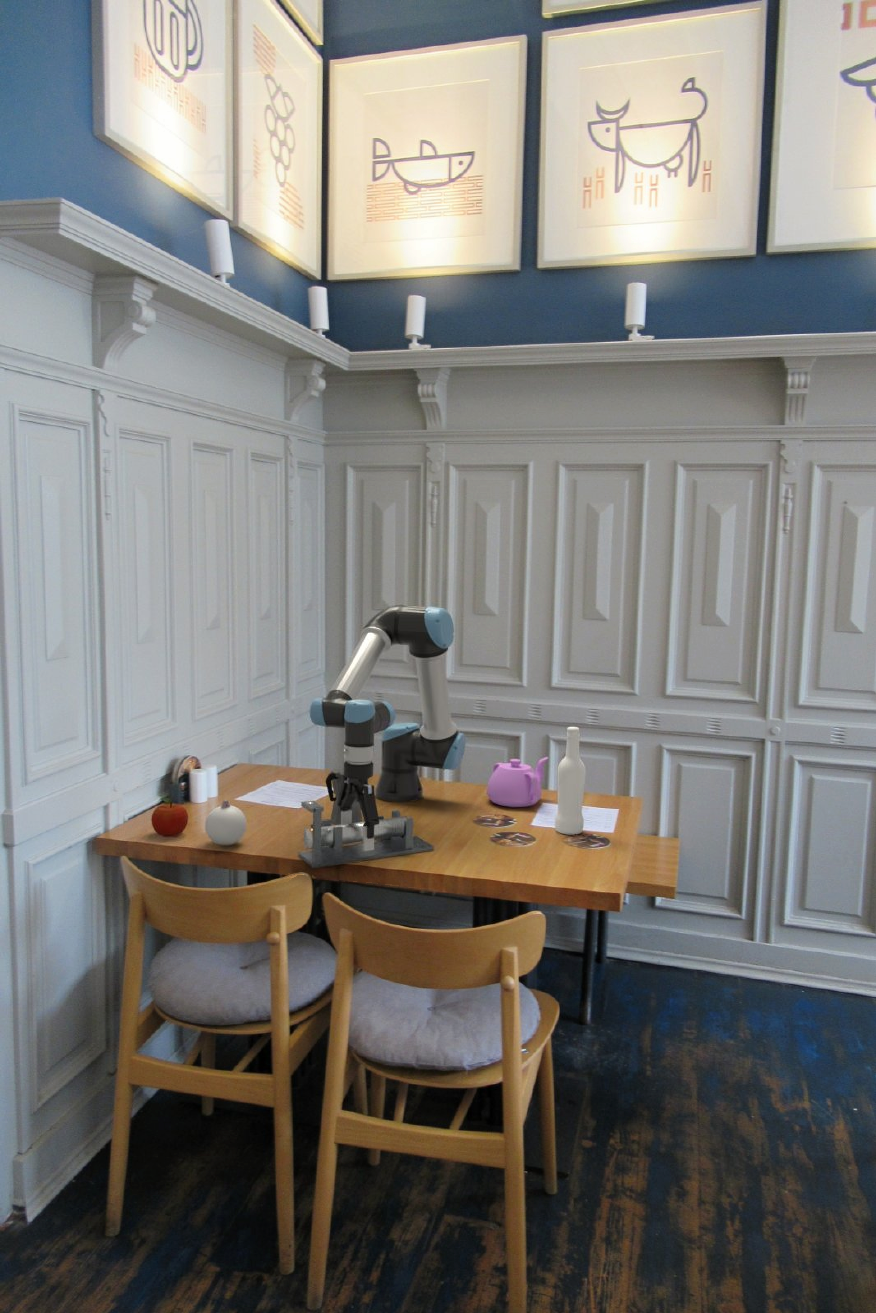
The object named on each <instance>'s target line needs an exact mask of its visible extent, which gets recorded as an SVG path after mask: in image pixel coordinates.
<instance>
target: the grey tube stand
mask: <svg viewBox="0 0 876 1313" xmlns="http://www.w3.org/2000/svg"><path fill="white" fill-rule="evenodd" d="M300 805H301V807H302V808H304V809H305V810H307V811H308V812H310V813H312V824H313V843H312V849H311V850H305V851H299V852H298V853H297V854H298V855H297V857H298V858H300V859H301V860H302V859H303V860H302V861H303V862H305V863H306V864H308V866H310V867H311V868H312V869H316V868H323V867H330V866H337V865H344V864H351V863H356V862H365V861H371V860H379V859H384V858H391V857H398V856H404V855H411V854H418V853H423V852H430V851H434V850H435V846H434V845H432V844H430V843H429V842H427V841H425V840H424V839H422V838H420V837H419V836H417V835H414V817H411V816H410V817H408V818H404V836H400V837H392V838H391V839H390V840H383V841H381V840H377V841H376V840H375V841H374V850H369V851H363V842H361V843H354V844H349V845H348V844H347V845H343V844H342V831H343V828H342V827H341V826H340V827H333V846H328V847H321V823H322V827H326V826H332V823H331V818H326V819H325V818H324V819H322V816H323V814H322V812H324V811H325V810H324V809H325V808H324V806H322V804H319V803H318V802H316V801H315V800H308V801H307V800H306V801H301V804H300ZM396 817H401V810H392V811H391V818H396Z"/></svg>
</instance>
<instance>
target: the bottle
mask: <svg viewBox="0 0 876 1313" xmlns="http://www.w3.org/2000/svg"><path fill="white" fill-rule="evenodd" d="M566 731H567V732H566V747H565V756H564V757H563V758H562V759H561V761H560V762H559V764H558V768H557V813H556V815H555V816H554V829H555V830H556V832H557V833H559V834H562V835H563V834H564V835H569V836H572V835H575V834H576V835H578V834H581V833H582V832H583V829H584V823H585V819H584V817H583V803H584V794H585V792H584V791H585V784H586V783H585V782H586V777H587V775H586V774H587V771H586V766H585V763H584V762H583V760H582V759H581V758H580V737H581V733H580V732H581V730H580V728H579V727H577V726H568V727H567V729H566Z"/></svg>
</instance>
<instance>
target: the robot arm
mask: <svg viewBox="0 0 876 1313" xmlns="http://www.w3.org/2000/svg"><path fill="white" fill-rule="evenodd" d="M454 626H455V625H454V621H453V618H452V616H451V614H450V612H449V610H446V608H442V607H437V606H433V605H430V606H423V605H422V606H419V605H418V606H417V605H404V604H396V605H392V606H388V607H386V608H385V609H382V610H381V611H379V612H378V613H376V614H375V615H374V616H373V617H371V618H370V619H369V620H368V622H366V624H365V625H364V627H363V628H362V630H361V631H360V633H359V638H360V639H359V641H358V644H357V645H356V647H355V649H354V651H353V652H352V653H351V655H350V657H349V659H348V660H347V662H346V664H345V666H343V668H342V670H341V672H340V674H339V675H338V677H337V679H336V680H335V682H334V684H333V686H332V687H331V689H330V690H329V692H328V693H327V695H326V697H317V698H315V699H313V700H312V702H311V704H310V707H309V708H310V709H309V718H310V721H311V723H313V725H316V726H319V727H325V728H335V729H336V728H338V729H344V741H343V745H344V746H343V747H344V748H343V749H342V752H343V759H344V762H343V767H344V775H343V782H342V786H341V790H340V794H339V798H338V802H337V805H338V806H340V810H342V811H341V824H349V823H352V811H351V810H349V809H353V808H352V804H353V802H354V800H355V798H356V800H357V802H359V804H360V807H361V813H362V819H363V822H365V823H364V824H363V842H362V843H363V851H369V850H374V842H375V840H374V826H375V825H378V824H379V817H378V816H379V812H378V806H377V801H376V798H377V799H378V800H382V801H386V802H392V803H393V802H396V803H401V802H402V803H405V802H406V803H408V802H414V801H418V800H421V799H422V798H423V795H424V790H423V786H422V783H421V779H420V776H419V772H418V770H419V767H422V768H431V769H439V770H443V771H445V770H448V771H449V770H450V771H453V770H456V769H458V768H459V766H460V764H461V763H462V761H463V758H464V754H465V749H466V736H465V734H464V733H462V732H458V731H459V730H458V726H457V724H456V723H455V722H454V721H452V714H451V707H450V706H451V705H450V698H449V696H450V695H449V687H448V678H447V668H446V663H445V662H446V661H445V654H446V653H447V652H448V651H449V648H450V647H451V646H452V644H453V642H454V636H455V635H454V633H455V628H454ZM394 645H402V646H408V650H409V651H408V653H409V655H410V656H411V657H413V658H414V659H415V666H416V672H417V673H416V674H417V681H418V690H419V698H420V705H421V713H422V722H423V725H421V727H420V724H419V723H415V722H403V723H395V724H394V722H395V720H396V711H395V709H394V707H393V706H392V704H390V703H389V702H388V701H384V700H381V701H378V700H377V701H375V702H373V701H372V700H368V699H358V698H359V696H360V694H362V693H361V692H363V689H364V688H365V685H367V683H368V680H370V678H371V675H372V673H373V672H374V670H375V668H376V666H377V665H378V663H379V661H380V659H381V657H382V656H383V654H384V653H387V652H388V651H389V650H390V649H391V647H392V646H394ZM379 732H382V733H381V734H382V735H381V761H380V763H381V769H380V770H381V771H380V774H379V776H378V779H377V783H376V786H375V785H374V784H371V785H370V784H369V779H370V778H372V777H373V776H374V762H373V761H374V759H375V757H374V756H375V755H374V754H375V734H376V733H379ZM342 800H343V801H342Z"/></svg>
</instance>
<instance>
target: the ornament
mask: <svg viewBox="0 0 876 1313" xmlns="http://www.w3.org/2000/svg"><path fill="white" fill-rule="evenodd" d="M247 826H248V825H247V819H246V816H245V814H244V812H243V811H242V810H241V809H240V808H238V807H236V806H234V805H230V803H229V801H228V800H227V799H224V800H223V801H222V804H221V805H220V806H217V807H215V808H214V809H212V810H211V811H210V812H209V813H208V815H207V817H206V819H205V826H204V828H205V832H206V834H207V837H208V839H209V840H211V841H212V842H213V843H214V844H217V845H218V846H219V845H220V846H231V845H233V844H236V843H238V842H239V841H240V840H241V839H242V838H243V837H244V835H245V834H246V830H247Z"/></svg>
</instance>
